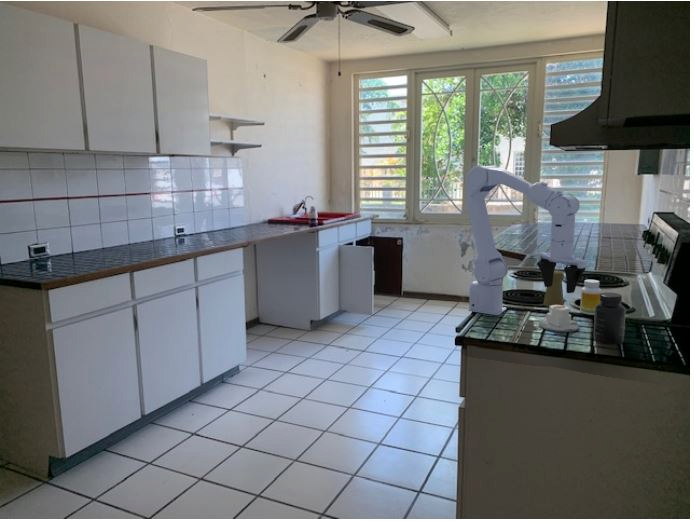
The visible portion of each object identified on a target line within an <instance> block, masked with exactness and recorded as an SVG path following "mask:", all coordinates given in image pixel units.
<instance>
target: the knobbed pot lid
mask: <svg viewBox="0 0 694 521" xmlns="http://www.w3.org/2000/svg"><path fill="white" fill-rule="evenodd" d="M538 327H539V328H541V329H543V330H546V331H549V332H554V333H573V332H577V331H578V330H579V323H578V322H577V321H575V320H573V319H571V324H568V325H563V326H556V325H553V324H550V323H548V322H546V317H544V318H540V319H539V320H538Z"/></svg>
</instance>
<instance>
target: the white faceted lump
mask: <svg viewBox="0 0 694 521" xmlns="http://www.w3.org/2000/svg"><path fill="white" fill-rule="evenodd" d="M548 308H549V309H548V310H549V311H548V312H547V313H546V317H545V318H546V322H548V323H550V324H553V325H556V326H563V325H568V324H571V320H572V314H570V308H569V307H568V306H567V305H565V304H564V305H552V306H550V307H548Z"/></svg>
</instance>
